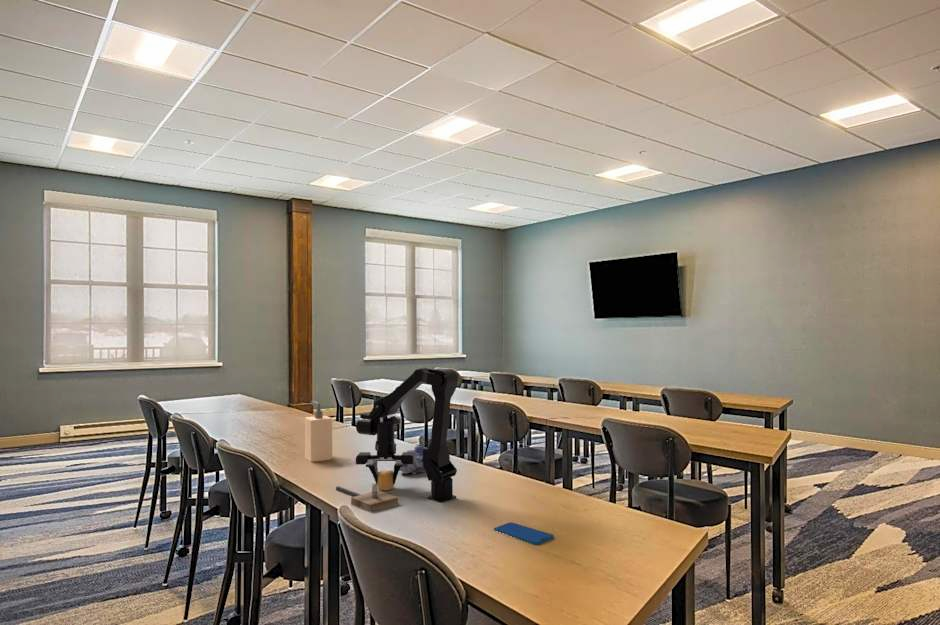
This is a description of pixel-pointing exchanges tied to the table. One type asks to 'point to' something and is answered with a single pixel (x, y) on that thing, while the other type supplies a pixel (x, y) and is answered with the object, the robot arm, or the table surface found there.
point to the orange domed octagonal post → (385, 480)
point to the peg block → (374, 500)
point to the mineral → (415, 462)
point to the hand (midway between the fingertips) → (385, 484)
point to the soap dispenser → (318, 436)
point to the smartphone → (524, 533)
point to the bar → (347, 491)
